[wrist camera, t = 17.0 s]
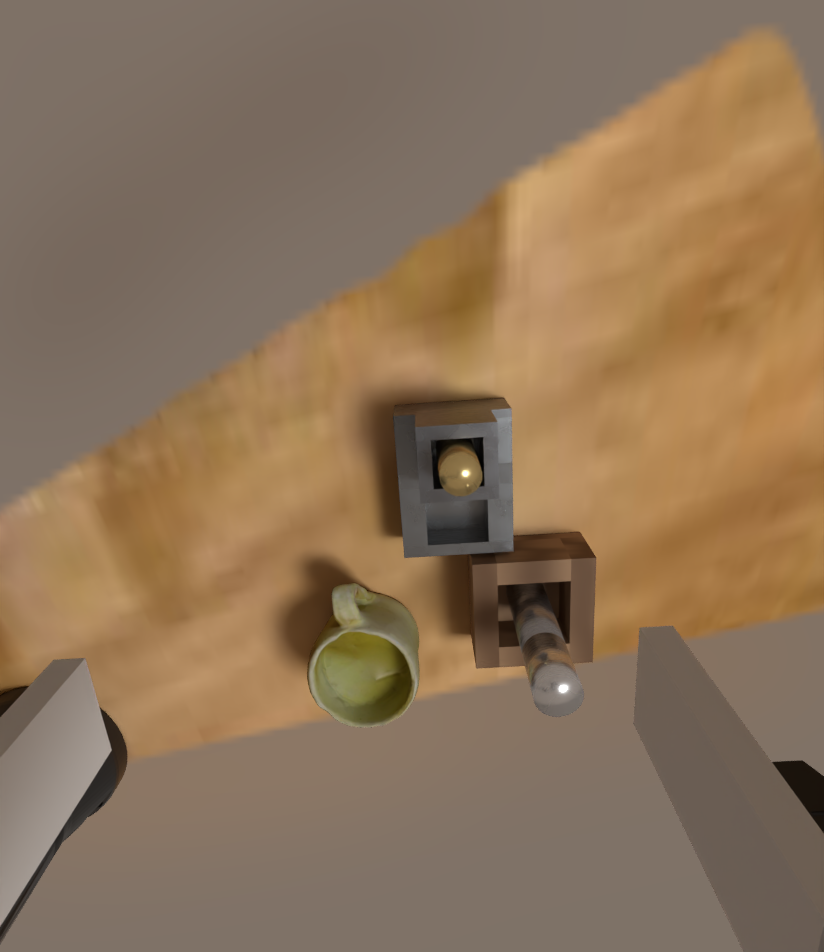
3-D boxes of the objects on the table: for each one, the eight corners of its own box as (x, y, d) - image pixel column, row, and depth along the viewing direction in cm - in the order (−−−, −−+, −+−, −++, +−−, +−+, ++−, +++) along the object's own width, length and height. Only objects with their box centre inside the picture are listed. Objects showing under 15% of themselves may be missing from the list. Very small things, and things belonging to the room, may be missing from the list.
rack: (471, 635, 56) (476, 668, 52) (467, 538, 53) (472, 564, 48) (577, 629, 56) (592, 662, 51) (580, 532, 53) (596, 557, 48)
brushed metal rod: (506, 608, 54) (533, 717, 41) (505, 575, 53) (533, 677, 40) (544, 606, 54) (583, 715, 41) (543, 572, 53) (584, 674, 40)
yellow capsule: (436, 465, 46) (440, 497, 39) (434, 429, 45) (438, 457, 39) (473, 462, 46) (483, 495, 39) (471, 427, 45) (481, 454, 38)
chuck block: (405, 537, 53) (403, 588, 45) (394, 401, 49) (390, 428, 41) (506, 531, 53) (523, 581, 44) (504, 394, 49) (522, 420, 40)
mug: (440, 691, 56) (406, 750, 47) (341, 674, 60) (290, 726, 50) (443, 565, 55) (407, 600, 45) (341, 554, 58) (287, 585, 48)
